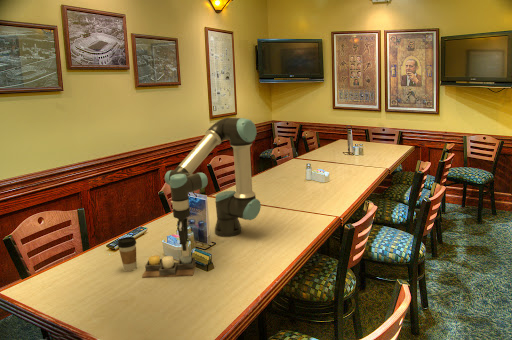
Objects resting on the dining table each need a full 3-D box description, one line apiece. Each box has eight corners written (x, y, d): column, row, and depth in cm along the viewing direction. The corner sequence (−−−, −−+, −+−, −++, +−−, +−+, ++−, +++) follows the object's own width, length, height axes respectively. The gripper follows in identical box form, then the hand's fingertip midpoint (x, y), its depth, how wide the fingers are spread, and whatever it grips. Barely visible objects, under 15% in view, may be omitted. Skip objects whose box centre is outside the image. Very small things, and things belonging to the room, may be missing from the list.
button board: (196, 263, 213) (196, 256, 212) (192, 275, 200) (192, 268, 199) (149, 265, 213) (148, 258, 212) (142, 278, 201) (141, 271, 200)
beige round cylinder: (174, 263, 206) (174, 255, 205) (172, 268, 201) (172, 260, 200) (164, 264, 206) (163, 256, 205) (161, 268, 201) (161, 260, 200)
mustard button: (161, 262, 211) (160, 255, 210) (159, 267, 206) (158, 259, 205) (150, 263, 211) (150, 255, 210) (148, 268, 206) (147, 260, 205)
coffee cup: (117, 269, 210) (113, 240, 207) (132, 262, 217) (128, 234, 213) (128, 274, 205) (124, 244, 202) (143, 266, 212) (139, 237, 208)
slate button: (192, 261, 210) (191, 253, 209) (191, 266, 205) (190, 258, 204) (182, 262, 210) (181, 254, 209) (180, 266, 206) (179, 258, 205)
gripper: (175, 203, 208) (180, 250, 213) (170, 213, 195) (175, 262, 201) (191, 203, 207) (195, 249, 213) (186, 212, 195) (191, 261, 200)
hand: (185, 255), depth 207 cm, fingers closed
